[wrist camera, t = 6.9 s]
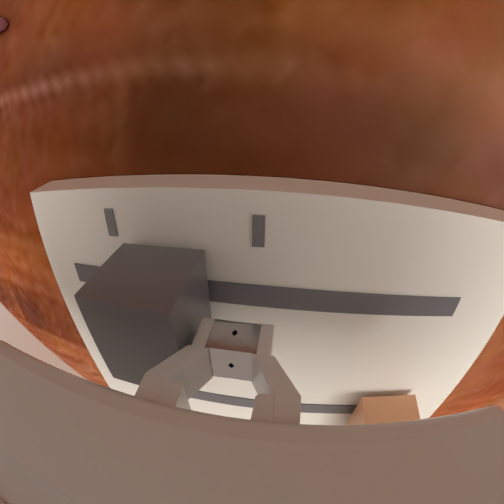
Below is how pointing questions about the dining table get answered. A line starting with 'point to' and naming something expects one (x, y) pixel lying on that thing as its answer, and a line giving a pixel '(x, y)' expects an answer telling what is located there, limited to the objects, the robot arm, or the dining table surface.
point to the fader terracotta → (385, 410)
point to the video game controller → (3, 24)
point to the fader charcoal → (144, 306)
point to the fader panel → (303, 277)
